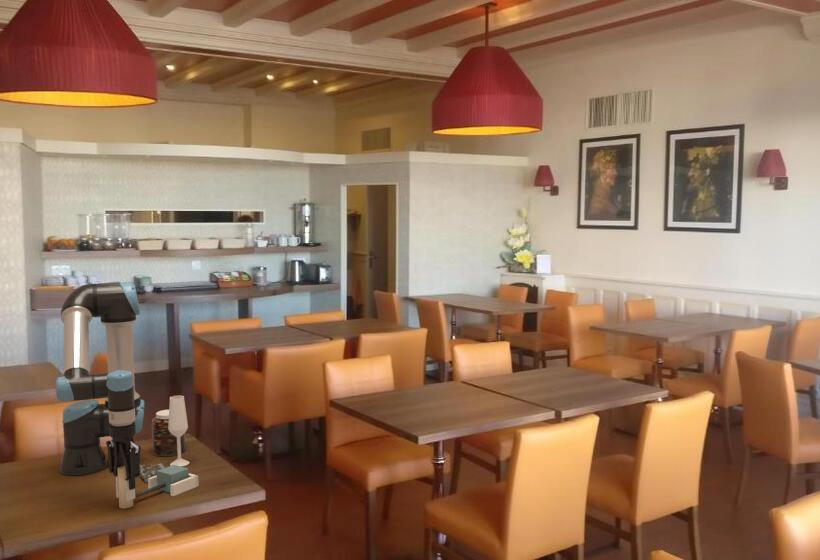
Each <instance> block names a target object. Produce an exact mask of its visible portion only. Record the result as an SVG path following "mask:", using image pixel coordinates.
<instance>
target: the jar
mask: <svg viewBox="0 0 820 560" xmlns="http://www.w3.org/2000/svg"><path fill="white" fill-rule="evenodd" d="M168 423H169V409H163V410H159V411H157V412H156V413H155V416H154V418H152V420H151V439H152V441H151V442H152V454H153V456H156V457H161V458H162V457H163V458H164V457H167V458H168V457H173V456H178V452H177V437H175V436H174V435H173V434H171V433H170V431H169V430H168ZM185 434H186V433H184V434H183V435H182V436H181V437H180V442H181V454H183V453H184V452H185V451H186V437H185Z"/></svg>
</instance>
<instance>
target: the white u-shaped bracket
mask: <svg viewBox="0 0 820 560" xmlns="http://www.w3.org/2000/svg"><path fill="white" fill-rule="evenodd" d="M155 486H157V475H156V476H153V477H151V478H148V482H147V489H150V488H152V487H155ZM199 486H200V485H199V475H197V474H193V473H190V472H189V478H187V479H184V480H181V481H179V482H176V483H174V484H171V485H170V492H169V493H170V496H171V497H175V496H177V495H180V494H182V493H185V492H187V491H190V490H193V489H195V488H197V487H199Z"/></svg>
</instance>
